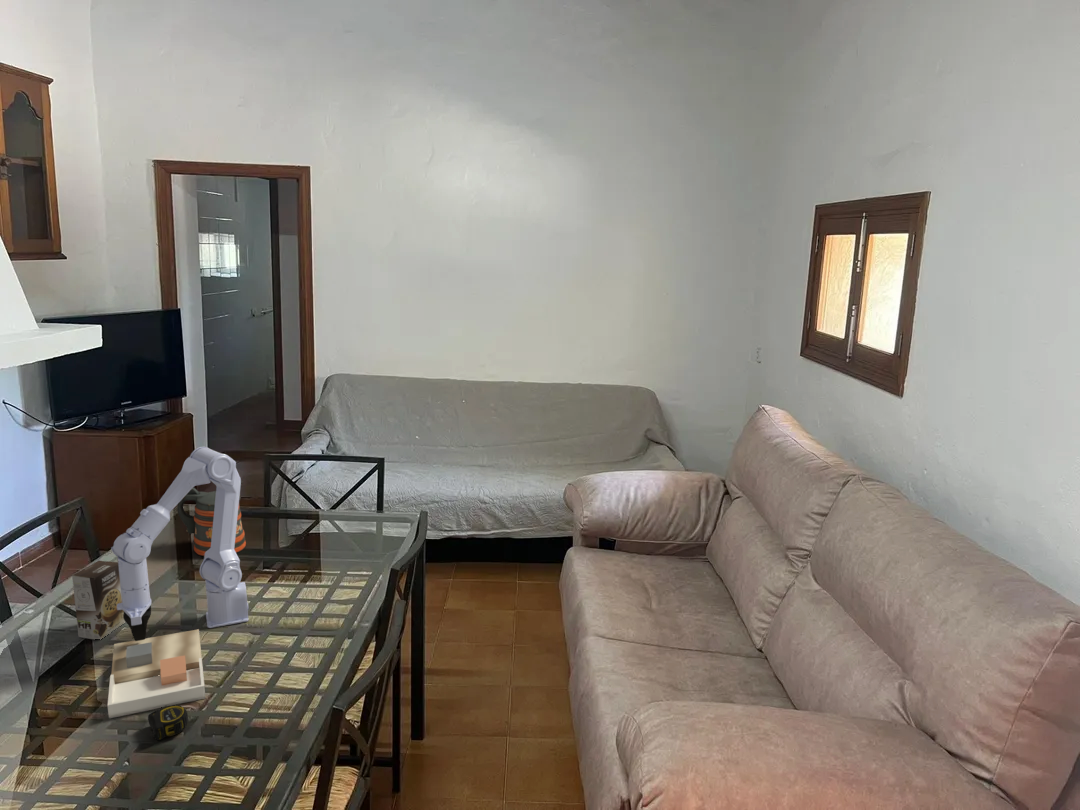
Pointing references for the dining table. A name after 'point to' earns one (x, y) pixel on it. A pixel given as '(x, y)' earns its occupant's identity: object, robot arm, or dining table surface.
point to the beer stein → (206, 521)
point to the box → (154, 693)
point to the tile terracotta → (173, 670)
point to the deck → (157, 655)
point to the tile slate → (139, 655)
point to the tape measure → (168, 721)
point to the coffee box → (98, 599)
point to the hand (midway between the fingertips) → (140, 638)
